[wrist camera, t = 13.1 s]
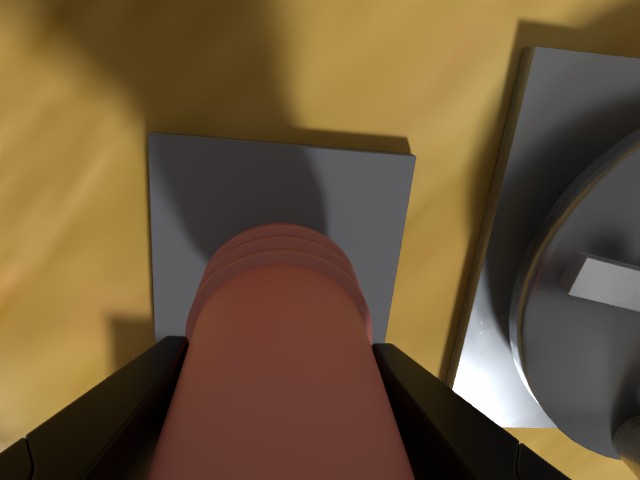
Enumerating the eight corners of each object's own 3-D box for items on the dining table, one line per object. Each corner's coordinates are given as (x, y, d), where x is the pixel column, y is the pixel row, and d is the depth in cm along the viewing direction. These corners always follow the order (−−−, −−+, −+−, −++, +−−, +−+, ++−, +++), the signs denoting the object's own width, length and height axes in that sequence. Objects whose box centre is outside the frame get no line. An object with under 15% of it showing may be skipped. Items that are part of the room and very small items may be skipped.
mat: (412, 154, 13) (415, 156, 12) (376, 364, 15) (379, 372, 15) (152, 132, 12) (147, 134, 11) (159, 358, 14) (156, 366, 14)
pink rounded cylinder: (363, 220, 12) (580, 612, 3) (345, 352, 13) (465, 865, 5) (204, 209, 11) (-16, 631, 3) (203, 347, 13) (52, 905, 4)
